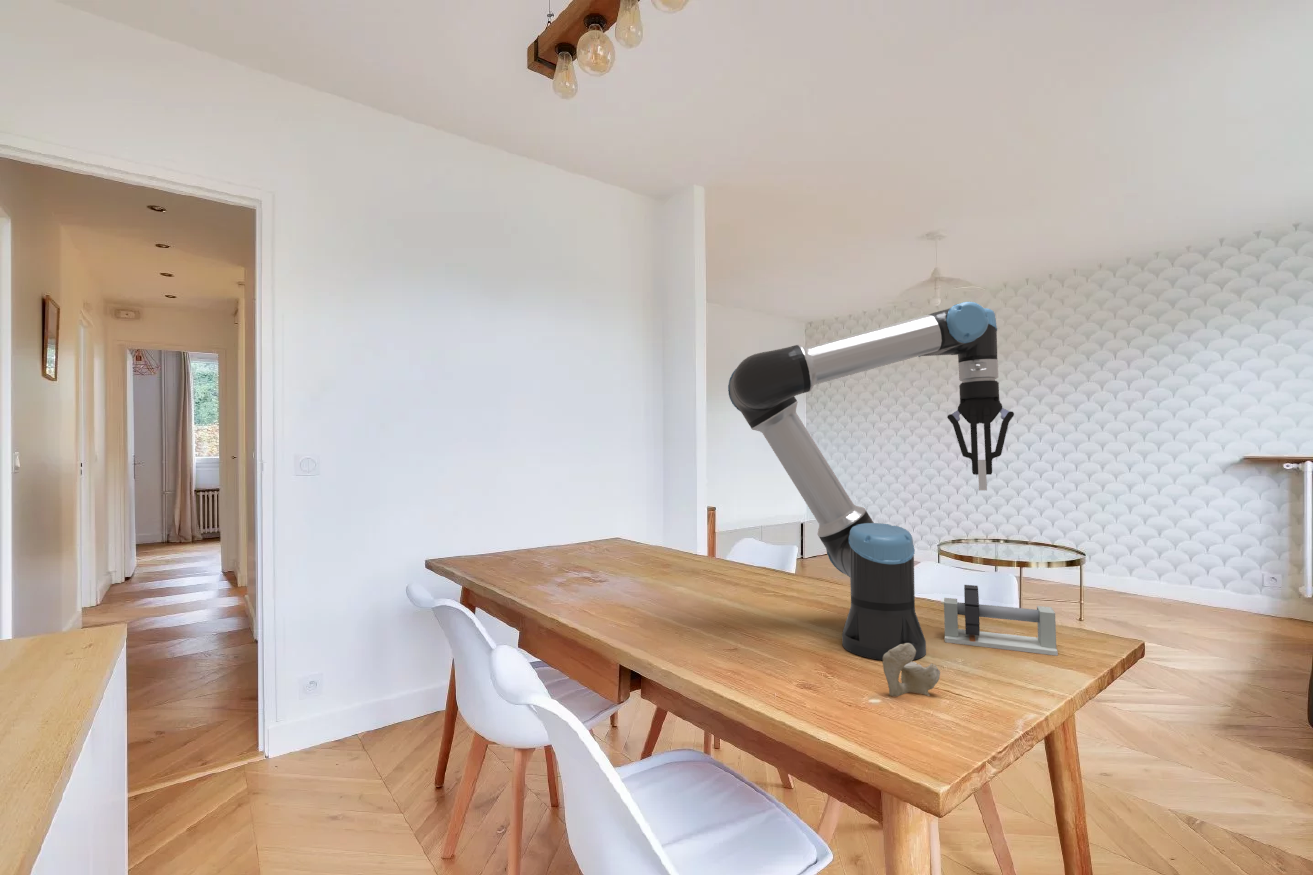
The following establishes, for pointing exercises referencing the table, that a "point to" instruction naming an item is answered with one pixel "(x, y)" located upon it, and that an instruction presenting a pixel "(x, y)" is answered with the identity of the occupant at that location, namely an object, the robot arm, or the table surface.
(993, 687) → the table surface
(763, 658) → the table surface
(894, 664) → the bone
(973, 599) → the o-ring
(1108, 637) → the table surface
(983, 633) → the pipe rig
